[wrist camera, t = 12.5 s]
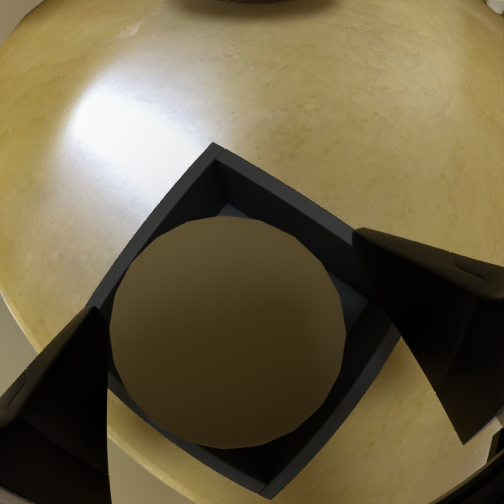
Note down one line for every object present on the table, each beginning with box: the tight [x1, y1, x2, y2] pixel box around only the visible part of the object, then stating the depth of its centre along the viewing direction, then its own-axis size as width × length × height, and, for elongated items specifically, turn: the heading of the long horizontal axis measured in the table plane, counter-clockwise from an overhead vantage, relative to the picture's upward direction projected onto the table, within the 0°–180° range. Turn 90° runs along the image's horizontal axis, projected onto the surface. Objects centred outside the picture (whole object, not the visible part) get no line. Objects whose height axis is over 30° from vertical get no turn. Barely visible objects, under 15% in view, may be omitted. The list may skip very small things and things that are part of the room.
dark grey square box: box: [84, 142, 401, 500], centre depth 13 cm, size 11×11×6 cm
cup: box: [486, 0, 504, 14], centre depth 27 cm, size 9×9×10 cm
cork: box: [109, 216, 346, 449], centre depth 10 cm, size 6×6×11 cm
